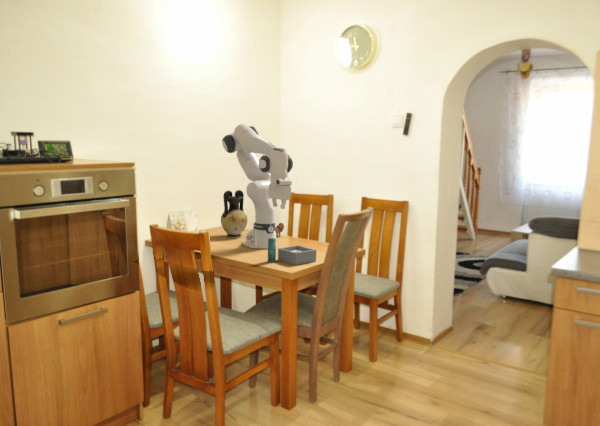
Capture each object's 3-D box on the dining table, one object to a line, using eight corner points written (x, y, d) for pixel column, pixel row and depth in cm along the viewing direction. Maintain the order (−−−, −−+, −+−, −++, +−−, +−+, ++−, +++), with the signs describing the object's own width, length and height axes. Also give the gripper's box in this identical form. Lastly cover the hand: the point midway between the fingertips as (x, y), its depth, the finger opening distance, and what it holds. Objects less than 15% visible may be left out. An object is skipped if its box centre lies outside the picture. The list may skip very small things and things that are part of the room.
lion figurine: (281, 235, 310) (281, 222, 309) (285, 236, 306) (286, 223, 305) (262, 237, 302) (262, 223, 301) (266, 238, 298) (266, 224, 296)
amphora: (233, 233, 313) (233, 188, 309) (252, 236, 304) (253, 190, 300) (214, 236, 299) (214, 190, 295) (234, 240, 289) (235, 192, 285)
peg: (266, 261, 239) (266, 238, 237) (272, 260, 242) (272, 237, 240) (270, 262, 236) (271, 239, 234) (277, 261, 239) (277, 238, 237)
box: (277, 259, 243) (278, 248, 242) (298, 256, 252) (298, 245, 251) (295, 265, 232) (295, 253, 232) (315, 261, 242) (316, 249, 241)
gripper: (265, 179, 244) (265, 205, 245) (281, 181, 226) (281, 210, 227) (276, 179, 246) (276, 205, 248) (293, 181, 228) (293, 209, 230)
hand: (278, 207), depth 238 cm, fingers open, 8 cm apart
